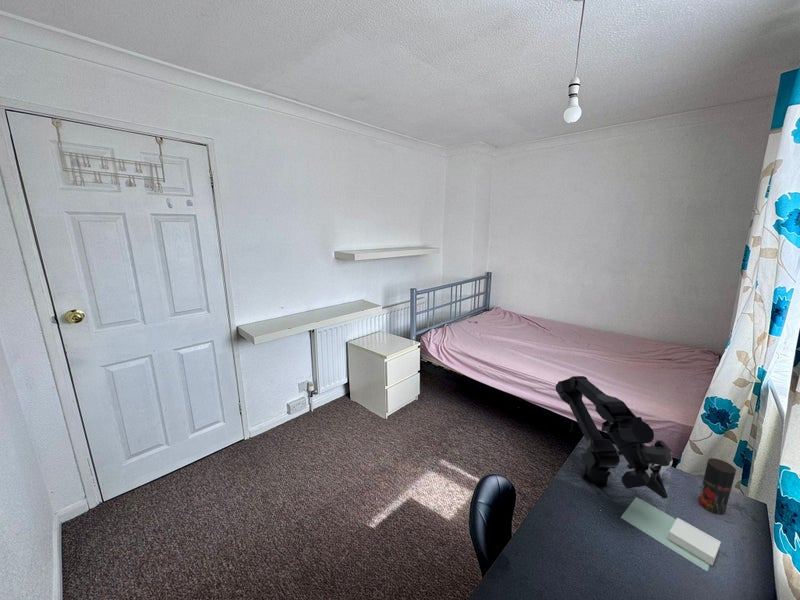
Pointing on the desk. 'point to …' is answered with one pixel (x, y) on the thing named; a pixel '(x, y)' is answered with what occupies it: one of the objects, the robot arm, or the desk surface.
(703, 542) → the block
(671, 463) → the lightbulb
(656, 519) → the mat
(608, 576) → the desk surface
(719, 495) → the deodorant
